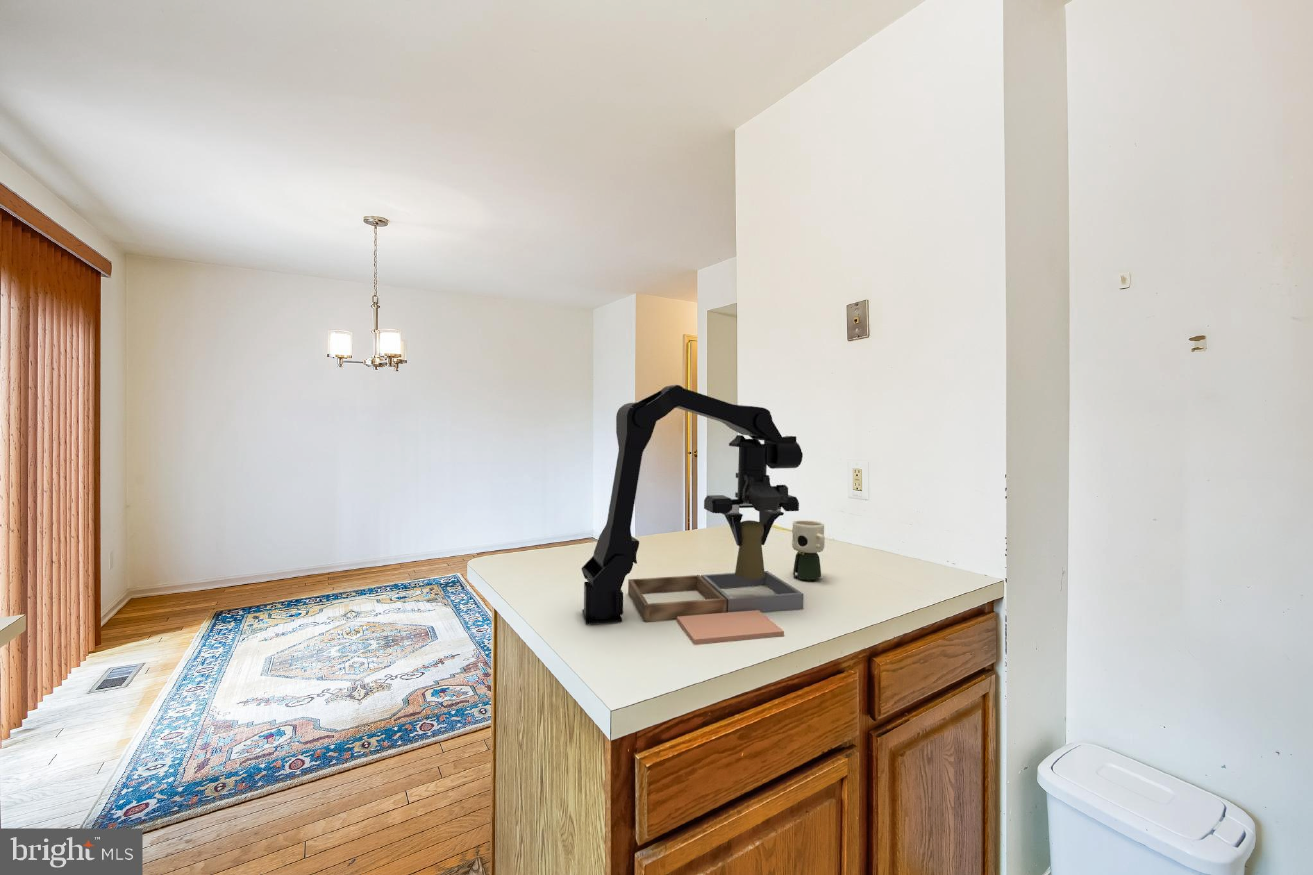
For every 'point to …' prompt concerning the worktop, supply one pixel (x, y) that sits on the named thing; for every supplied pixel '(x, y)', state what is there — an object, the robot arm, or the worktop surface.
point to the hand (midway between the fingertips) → (750, 545)
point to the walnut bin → (675, 609)
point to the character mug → (807, 548)
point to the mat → (728, 626)
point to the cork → (750, 551)
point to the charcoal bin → (764, 603)
